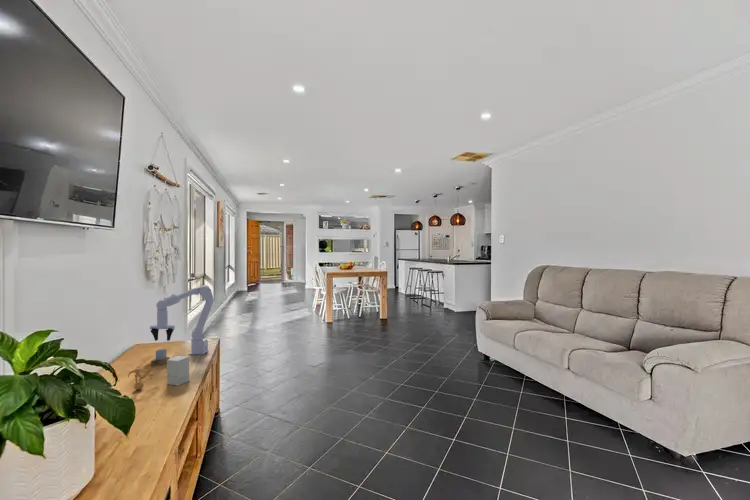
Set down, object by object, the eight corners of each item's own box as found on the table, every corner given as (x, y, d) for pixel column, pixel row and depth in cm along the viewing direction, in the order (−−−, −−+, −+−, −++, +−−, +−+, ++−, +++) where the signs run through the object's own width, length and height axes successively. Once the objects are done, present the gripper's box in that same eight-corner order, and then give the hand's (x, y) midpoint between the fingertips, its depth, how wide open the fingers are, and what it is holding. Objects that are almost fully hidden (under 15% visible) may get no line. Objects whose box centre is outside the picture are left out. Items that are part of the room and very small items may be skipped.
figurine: (149, 386, 178) (149, 363, 178) (147, 391, 172) (146, 366, 172) (129, 389, 175) (129, 365, 174) (126, 394, 169) (126, 369, 169)
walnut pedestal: (169, 361, 217) (169, 356, 217) (163, 365, 210) (163, 360, 210) (157, 362, 217) (157, 357, 217) (151, 365, 210) (151, 360, 210)
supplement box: (189, 380, 186) (189, 356, 186) (177, 386, 179) (177, 361, 179) (178, 379, 188) (178, 355, 188) (166, 384, 181) (166, 359, 181)
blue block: (166, 357, 216) (166, 349, 216) (162, 359, 212) (162, 351, 212) (159, 357, 216) (159, 349, 216) (155, 359, 212) (155, 351, 212)
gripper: (146, 320, 221) (146, 342, 221) (170, 320, 221) (170, 342, 221) (153, 317, 228) (153, 339, 228) (176, 317, 228) (176, 339, 228)
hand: (162, 340), depth 225 cm, fingers open, 7 cm apart
